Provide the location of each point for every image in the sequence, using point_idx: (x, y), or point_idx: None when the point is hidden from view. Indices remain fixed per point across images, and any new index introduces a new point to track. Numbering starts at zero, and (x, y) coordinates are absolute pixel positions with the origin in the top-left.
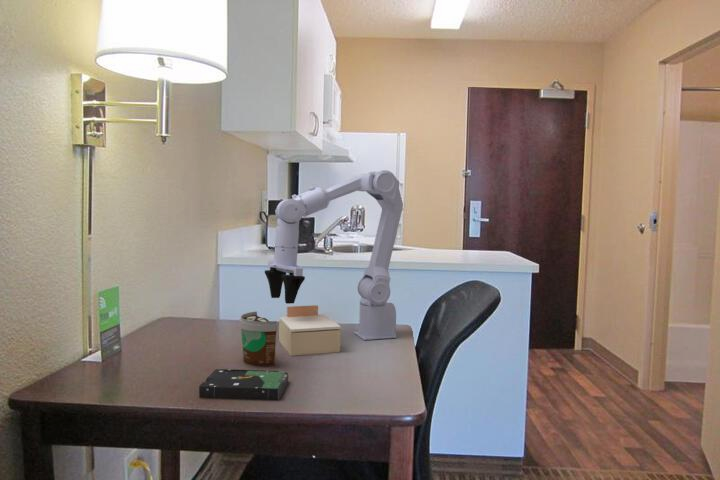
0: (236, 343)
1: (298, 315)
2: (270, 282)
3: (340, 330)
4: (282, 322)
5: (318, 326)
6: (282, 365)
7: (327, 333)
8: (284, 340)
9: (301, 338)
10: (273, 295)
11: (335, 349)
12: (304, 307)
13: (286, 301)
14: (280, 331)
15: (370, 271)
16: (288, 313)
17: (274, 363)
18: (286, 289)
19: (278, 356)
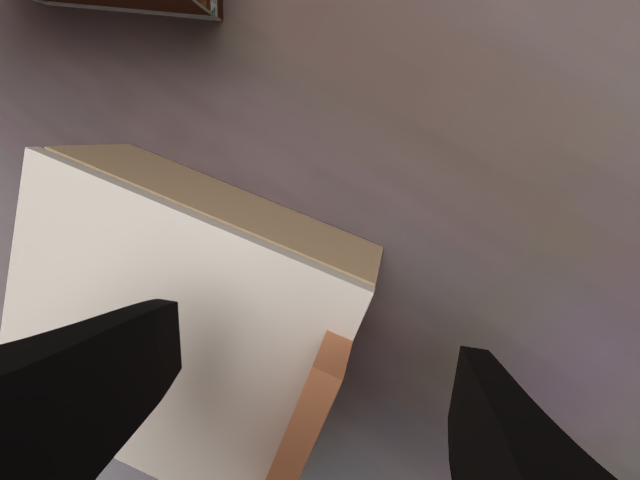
0: (487, 17)
1: (299, 396)
2: (520, 463)
3: None
4: (267, 242)
5: (29, 314)
6: (31, 35)
7: None
8: (243, 200)
9: None
10: (463, 372)
11: None
12: (271, 467)
13: (144, 302)
14: (338, 247)
15: None
16: (321, 347)
17: (39, 2)
18: (9, 346)
19: (148, 92)
